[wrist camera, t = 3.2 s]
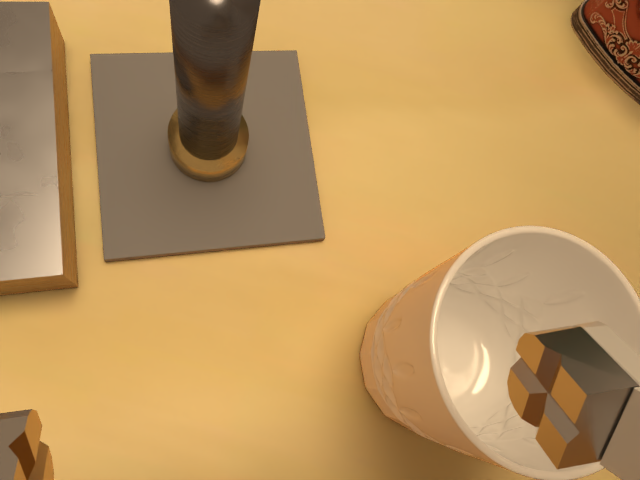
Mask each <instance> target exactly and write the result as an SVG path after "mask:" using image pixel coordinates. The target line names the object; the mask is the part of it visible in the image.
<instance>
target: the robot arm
mask: <svg viewBox="0 0 640 480" xmlns="http://www.w3.org/2000/svg"><path fill="white" fill-rule="evenodd" d="M516 351H517V353H518V354H519V356H520V359H519V360H518V361H517V362H516V363H515V364H514V365H513V366H512V367H511V368H510V372H509V376H508V380H507V385H508V392H509V397H510V400H511V402H512V405H513V407H514V409H515V410H516V412H517V413H518V415H519V416H520V418H521V419H523V420H524V421H526V422H528V423H529V424H531V425H533V426H535V427H536V433H535V439H536V440H537V442H538V443H539V445H540V446H541V448H542V449H543V450H544V452H545V453H546V455H547V456H548V457H549V459H550V460H551V462H552V463H553V464H554V466H555V467H556V469H562V468H568V467H573V466H578V465H584V464H589V463H594V462H600V461H601V462H600V465H602V466H603V467H605V468H606V469H607V470H609V471H610V472H612V473H613V474H615V475H616V476H617V477H619V478H620V479H622V480H640V356H639V355H638V354H637V353H636V352H635V351H634V350H633V349H632V348H631V347H630V346H629V345H628V344H627V343H626V342H624V341H623V340H622V339H621V338H620V337H619V336H618V335H617V334H616V333H615V332H614V331H613V330H612V329H611V328H610V327H609V326H608V325H606V324H604V323H602V322H599V321H595V322H589V323H583V324H577V325H573V326H565V327H559V328H553V329H547V330H541V331H535V332H529V333H524V334H523V335H522V337H521V338H520V339H519V341H518V344H517V347H516ZM41 430H42V424H41V421H40V418H39V416H38V413H37V411H36V410H33V409H30V410H23V411H15V412H7V413H0V480H54V469H53V462H52V456H51V453H50V449H49V446H48V445H46V444H44V443H42V442H41V441H40V435H41Z"/></svg>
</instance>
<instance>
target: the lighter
mask: <svg viewBox="0 0 640 480" xmlns="http://www.w3.org/2000/svg"><path fill="white" fill-rule="evenodd" d="M571 26H572V28H573V30H574V32H575V33H576V35H577V36H578V38H579V39H580V41H581V42H582V44H583V45H584V47H585V48H586V50H587V51H588V53H589V54H590V55H591V56H592V58H593V59H594V60H595V61H596V62H597V64H598V65H599V66H600V67H601V69H602V70H603V71H604V72H605V73H606V74H607V75H608V76H609V77H610V78H611V79H612V80H613V81H614V82H615V83H616V84H617V85H618V86H619V87H620V88H621V89H622V90H623V91H624V92H625V93H626V94H628V95H629V96H630V97H631V98H633V99H634V100H635V101H636V102H637V103H639V104H640V0H585V1H584V2H583V3H582V4H581V5H580V6H579V7H578V8H577V9H576V10H575V11H574V12H573V13H572V17H571Z"/></svg>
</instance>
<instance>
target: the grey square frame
mask: <svg viewBox="0 0 640 480" xmlns="http://www.w3.org/2000/svg"><path fill="white" fill-rule="evenodd" d="M74 287H78V275H77V258H76V240H75V222H74V205H73V187H72V170H71V152H70V135H69V117H68V100H67V82H66V65H65V47H64V40H63V37H62V35H61V32H60V29H59V27H58V24H57V22H56V19H55V17H54V14H53V11H52V9H51V6H50V4H49V2H0V295H9V294H18V293H28V292H37V291H46V290H56V289H65V288H74Z"/></svg>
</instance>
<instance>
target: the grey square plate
mask: <svg viewBox="0 0 640 480" xmlns="http://www.w3.org/2000/svg"><path fill="white" fill-rule="evenodd" d="M90 58H91V73H92V87H93V102H94V117H95V132H96V147H97V161H98V176H99V191H100V206H101V221H102V235H103V250H104V260H105V261H106V262H110V261H120V260H130V259H140V258H151V257H161V256H171V255H181V254H191V253H201V252H211V251H222V250H232V249H242V248H252V247H262V246H272V245H282V244H293V243H303V242H313V241H323V240H324V239H325V233H324V226H323V220H322V213H321V207H320V200H319V194H318V187H317V181H316V174H315V168H314V161H313V155H312V148H311V142H310V135H309V129H308V122H307V115H306V109H305V102H304V96H303V89H302V83H301V76H300V70H299V63H298V57H297V50H294V51H252V55H251V61H250V67H249V73H248V79H247V85H246V91H245V97H244V103H243V109H242V115H243V117H244V119H245V121H246V123H247V126H248V130H249V141H248V146H247V151H246V155H245V159H244V161H243V163H242V165H241V167H240V168H239V169H238V170H237V171H236V172H235V173H234V174H233V175H232V176H230V177H228V178H226V179H224V180H221V181H217V182H202V181H197V180H194V179H192V178H190V177H188V176H186V175H185V174H184V173H182V172H181V171H180V170H179V169H178V168H177V166H176V165H175V164H174V162H173V160H172V157H171V155H170V150H169V142H168V125H169V121H170V118H171V117H172V115H173V113H174V112H175V111H176V109H177V97H176V84H175V70H174V57H173V53H123V54H90Z"/></svg>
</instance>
